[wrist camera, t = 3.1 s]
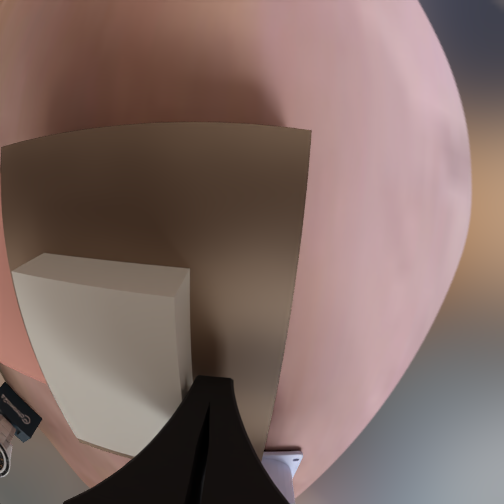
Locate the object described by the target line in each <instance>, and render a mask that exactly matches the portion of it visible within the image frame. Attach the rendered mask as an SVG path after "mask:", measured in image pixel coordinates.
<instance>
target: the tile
mask: <svg viewBox="0 0 504 504" xmlns="http://www.w3.org/2000/svg"><path fill="white" fill-rule="evenodd" d="M11 272H12V277H13V281H14V286H15V290H16V294H17V298H18V302H19V306H20V310H21V313H22V317H23V320H24V323H25V326H26V329H27V333H28V336H29V338H30V341H31V344H32V347H33V350H34V352H35V355H36V357H37V360H38V362H39V365H40V367H41V370H42V372H43V374H44V377H45V379H46V381H47V383H48V385H49V388H50V390H51V392H52V394H53V396H54V398H55V400H56V402H57V404H58V406H59V408H60V409H61V411H62V413H63V415H64V417H65V419H66V420H67V422H68V424H69V426H70V427H71V429H72V431H73V432H74V434H75V436H76V437H77V438H79V439H81V440H84V441H87V442H89V443H92V444H95V445H98V446H101V447H104V448H107V449H110V450H113V451H116V452H120V453H123V454H127V455H131V456H134V457H135V456H136V455H137V454H138V453H139V452H141V451H142V450H143V449H144V448H145V447H146V446H147V445H148V444H149V443H150V442H151V440H152V439H153V438H154V437H155V436H156V435H157V434H158V433H159V431H160V430H161V429H162V428H163V427H164V425H165V424H166V423H167V422H168V420H169V419H170V418H171V417H172V415H173V414H174V412H175V411H176V409H177V408H178V407H179V405H180V404H181V402H182V401H183V399H184V398H185V396H186V394H187V393H188V391H189V389H190V387H191V386H192V384H193V379H192V360H191V333H190V268H179V267H168V266H158V265H147V264H137V263H128V262H118V261H109V260H100V259H91V258H82V257H73V256H65V255H57V254H49V253H43V254H41V255H39V256H38V257H36V258H34V259H32V260H30V261H29V262H27V263H25V264H23V265H21V266H20V267H18V268H16V269H15V270H13V271H11Z"/></svg>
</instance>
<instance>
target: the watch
mask: <svg viewBox="0 0 504 504" xmlns="http://www.w3.org/2000/svg"><path fill="white" fill-rule="evenodd" d="M41 420H42V418H41V417H40V416H39V415H37V414H36V413H35V412H34V411H33V410H32V409H31V408H30V407H29V406H28V405H27V404H26V403H25V402H24V401H23V400H22V399H21V398H20V397H19V396H18V395H17V394H16V393H15V392H14V391H13V390H12V389H11V388H10V387H9V386H8V384H7V383H6V382H4V383H3V385H2V386H1V387H0V477H3V476H5V475H6V474H7V473H8V472H9V470H10V460H11V452H12V446H13V445H12V444H11V443H10V442H11V440H12V438H13V436H14V435H15V436H17V437H18V438H19V439H20V440H21V441H22V442H25V441H27V440H28V439H30V438H31V437H32V435H33V433H34V432H35V430H36V428H37V427H38V425H39V424H40V422H41Z"/></svg>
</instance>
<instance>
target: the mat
mask: <svg viewBox="0 0 504 504" xmlns="http://www.w3.org/2000/svg"><path fill="white" fill-rule="evenodd" d="M0 363H2V364H4V365H6V366H8V367H10V368H12V369H14V370H16V371H18V372H20V373H23V374H25V375H27V376H29V377H31V378H34V379H36V380H38V381H41V382H43V383H46V384H47V382H46V380H45V378H44V375H43V373H42V371H41V369H40V366H39V364H38V361H37V359H36V357H35V354H34V351H33V349H32V346H31V343H30V341H29V338H28V335H27V332H26V329H25V326H24V323H23V320H22V317H21V313H20V310H19V306H18V303H17V299H16V295H15V291H14V287H13V283H12V278H11V273H10V268H9V263H8V257H7V251H6V245H5V238H4V229H3V219H2V207H1V173H0Z"/></svg>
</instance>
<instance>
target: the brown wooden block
mask: <svg viewBox="0 0 504 504" xmlns="http://www.w3.org/2000/svg"><path fill="white" fill-rule="evenodd" d="M310 145H311V130H304V129H297V128H288V127H279V126H269V125H257V124H243V123H222V122H163V123H143V124H129V125H118V126H108V127H99V128H91V129H84V130H77V131H71V132H65V133H60V134H54V135H49V136H44V137H39V138H35V139H31V140H26V141H22V142H18V143H14V144H11V145H7V146H3V147H1V207H2V219H3V229H4V238H5V245H6V251H7V257H8V263H9V268H10V273H11V278H12V283H13V287H14V291H15V295H16V299H17V303H18V306H19V302H18V298H17V294H16V290H15V286H14V281H13V277H12V272H11V271H13V270H15V269H16V268H18V267H20V266H21V265H23V264H25V263H27V262H29V261H30V260H32V259H34V258H36V257H38V256H39V255H41V254H43V253H49V254H57V255H65V256H73V257H82V258H91V259H100V260H109V261H118V262H128V263H137V264H147V265H158V266H168V267H179V268H190V333H191V360H192V379H193V382H194V379H195V377H196V376H198V375H205V376H215V377H226V378H231V379H233V380H234V392H235V398H236V402H237V406H238V409H239V413H240V416H241V419H242V421H243V424H244V427H245V430H246V432H247V435H248V437H249V439H250V441H251V444H252V446H253V448H254V450H255V452H256V454H257V456H258V458H259V459H260V461H262V457H263V453H264V448H265V444H266V440H267V435H268V431H269V426H270V422H271V417H272V412H273V407H274V402H275V398H276V392H277V387H278V382H279V377H280V372H281V366H282V361H283V355H284V350H285V344H286V338H287V332H288V326H289V320H290V314H291V307H292V301H293V294H294V287H295V280H296V273H297V266H298V258H299V251H300V243H301V235H302V226H303V218H304V209H305V199H306V190H307V179H308V169H309V157H310ZM19 310H20V306H19ZM20 313H21V310H20ZM21 317H22V313H21ZM22 320H23V317H22ZM23 323H24V320H23ZM24 326H25V323H24ZM25 329H26V326H25ZM26 332H27V329H26ZM27 335H28V333H27ZM28 338H29V336H28ZM29 341H30V338H29ZM30 343H31V341H30ZM31 346H32V344H31ZM32 349H33V347H32ZM33 351H34V350H33ZM34 354H35V352H34ZM35 357H36V355H35ZM36 359H37V357H36ZM37 361H38V360H37ZM38 364H39V362H38ZM39 366H40V365H39ZM40 369H41V367H40ZM41 371H42V370H41ZM42 373H43V372H42ZM43 375H44V374H43ZM44 378H45V377H44ZM45 380H46V379H45ZM46 382H47V381H46ZM47 384H48V383H47ZM48 386H49V385H48ZM60 410H61V409H60ZM61 412H62V411H61ZM78 440H79V441H80V442H81V443H83V444H86V445H89V446H91V447H94V448H97V449H100V450H103V451H106V452H109V453H113V454H116V455H119V456H123V457H127V458H130V459H133V458H134V456H131V455H127V454H123V453H120V452H116V451H113V450H110V449H107V448H104V447H101V446H98V445H95V444H92V443H89V442H87V441H84V440H81V439H79V438H78Z"/></svg>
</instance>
